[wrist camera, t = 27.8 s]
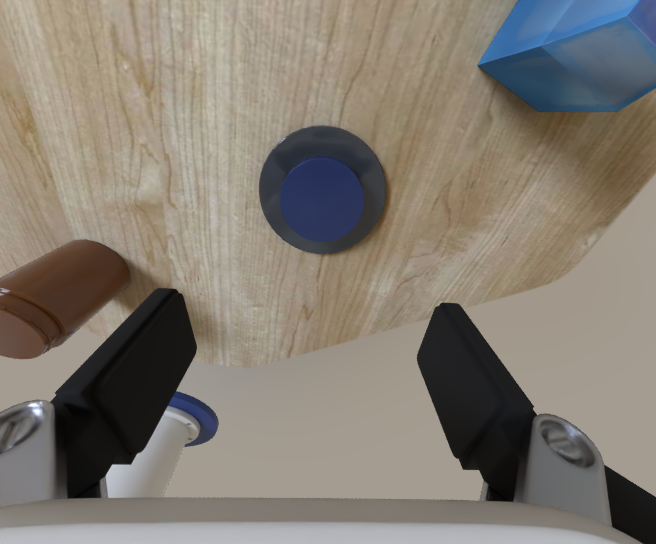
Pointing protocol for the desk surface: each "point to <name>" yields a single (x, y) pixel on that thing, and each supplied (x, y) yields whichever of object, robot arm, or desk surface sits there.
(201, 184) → the desk surface
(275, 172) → the coaster
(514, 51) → the perfume bottle
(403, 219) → the desk surface
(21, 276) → the jar
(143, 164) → the desk surface
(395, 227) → the desk surface
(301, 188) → the lid
